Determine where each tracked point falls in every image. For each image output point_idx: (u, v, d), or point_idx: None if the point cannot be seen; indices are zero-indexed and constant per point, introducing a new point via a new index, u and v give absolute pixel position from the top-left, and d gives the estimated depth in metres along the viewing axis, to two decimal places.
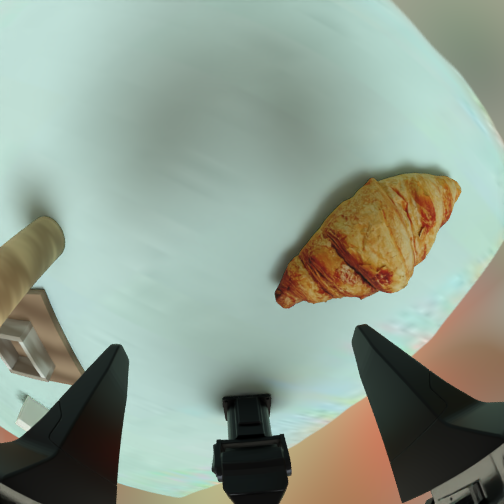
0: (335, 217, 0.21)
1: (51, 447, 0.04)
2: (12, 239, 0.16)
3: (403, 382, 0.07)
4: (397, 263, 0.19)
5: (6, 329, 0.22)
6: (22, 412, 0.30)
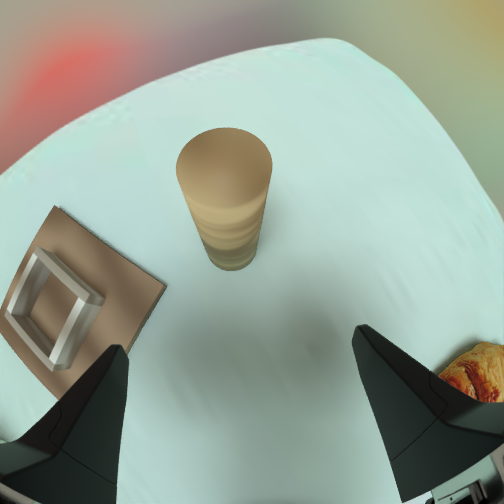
0: (466, 355, 0.20)
1: (51, 447, 0.04)
2: None
3: (403, 382, 0.07)
4: (502, 387, 0.15)
5: (69, 274, 0.20)
6: None
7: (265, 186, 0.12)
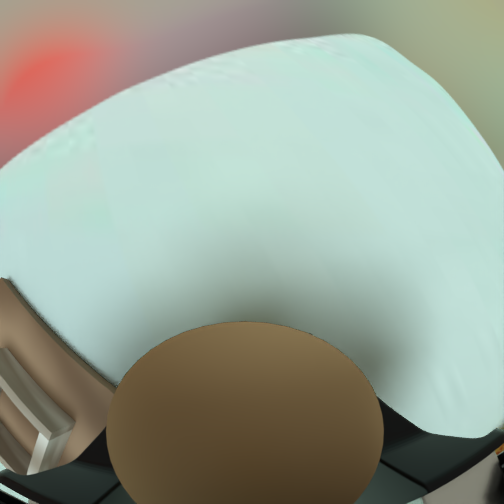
0: None
1: None
2: None
3: None
4: None
5: (24, 393, 0.11)
6: None
7: (354, 495, 0.03)
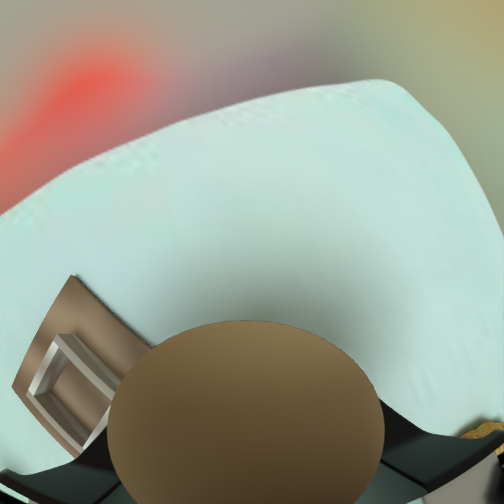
0: (471, 436, 0.18)
1: None
2: None
3: None
4: None
5: (98, 371, 0.18)
6: None
7: (355, 495, 0.03)
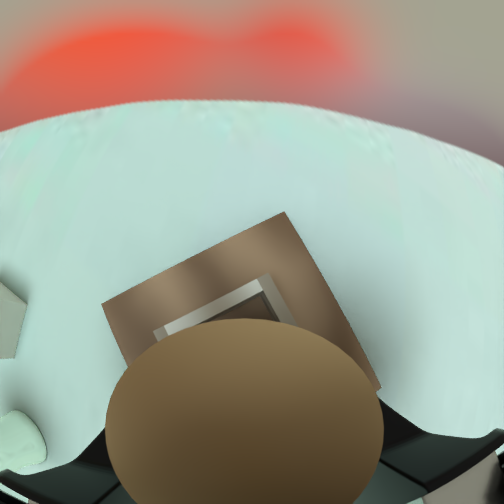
0: None
1: None
2: None
3: None
4: None
5: None
6: None
7: (354, 494, 0.03)
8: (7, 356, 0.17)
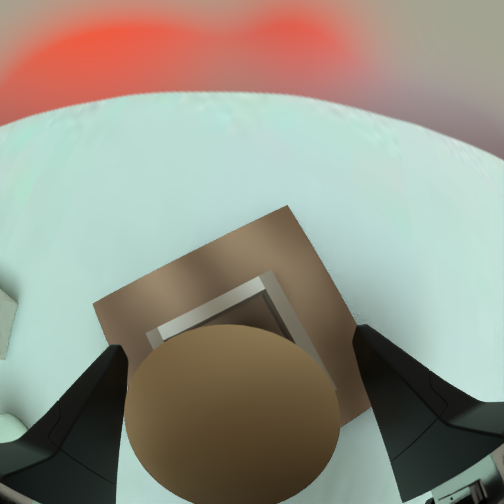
0: None
1: (50, 447, 0.04)
2: None
3: (403, 382, 0.07)
4: None
5: None
6: None
7: (319, 469, 0.04)
8: None
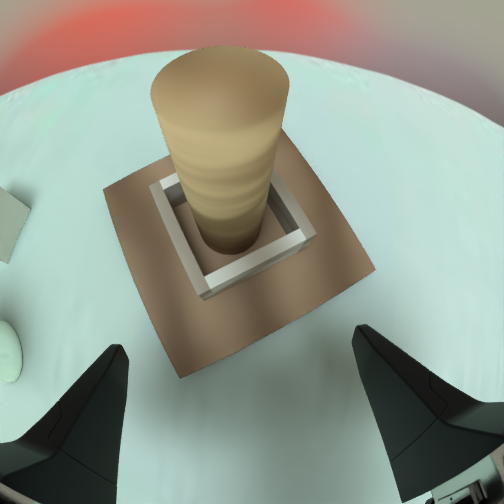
0: None
1: (51, 447, 0.04)
2: None
3: (403, 382, 0.07)
4: None
5: None
6: (5, 194, 0.17)
7: (280, 106, 0.07)
8: (1, 258, 0.18)
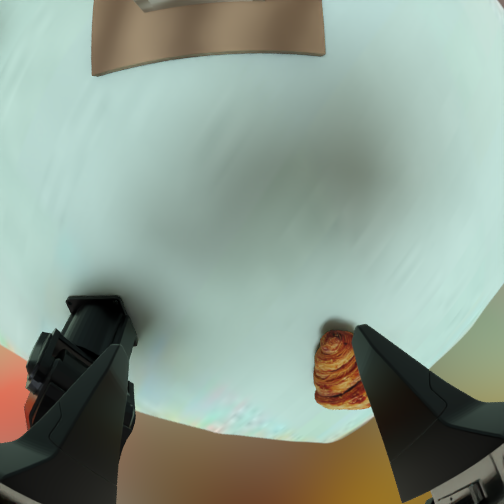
0: None
1: (51, 447, 0.04)
2: None
3: (403, 382, 0.07)
4: (366, 402, 0.27)
5: None
6: None
7: None
8: None
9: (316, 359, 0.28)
